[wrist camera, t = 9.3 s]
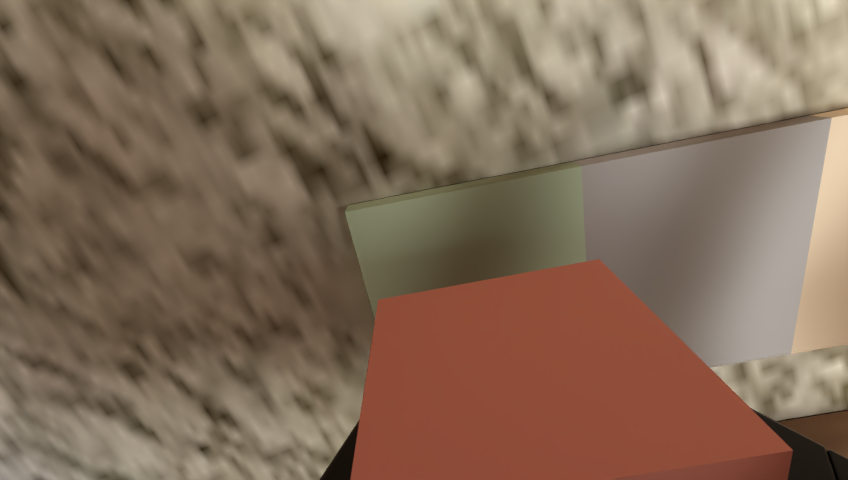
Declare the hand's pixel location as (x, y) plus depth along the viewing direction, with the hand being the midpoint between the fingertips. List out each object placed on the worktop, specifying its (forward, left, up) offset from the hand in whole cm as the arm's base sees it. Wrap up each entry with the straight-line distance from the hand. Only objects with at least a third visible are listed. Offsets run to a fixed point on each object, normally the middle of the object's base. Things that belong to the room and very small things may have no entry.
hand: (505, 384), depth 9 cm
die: (0, 0, 0) cm, 0 cm away
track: (-6, 0, -4) cm, 7 cm away
